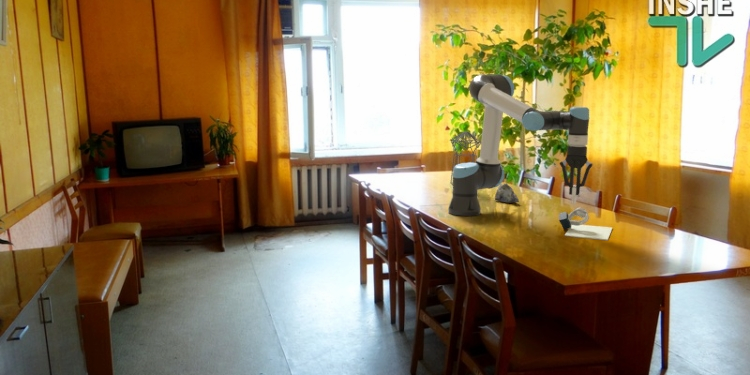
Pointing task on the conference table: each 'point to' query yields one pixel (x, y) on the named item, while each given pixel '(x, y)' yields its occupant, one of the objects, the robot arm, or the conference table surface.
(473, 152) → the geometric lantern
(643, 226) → the conference table surface
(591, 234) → the felt mat
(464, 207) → the robot arm
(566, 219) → the watch
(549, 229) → the conference table surface
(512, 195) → the mineral rock
